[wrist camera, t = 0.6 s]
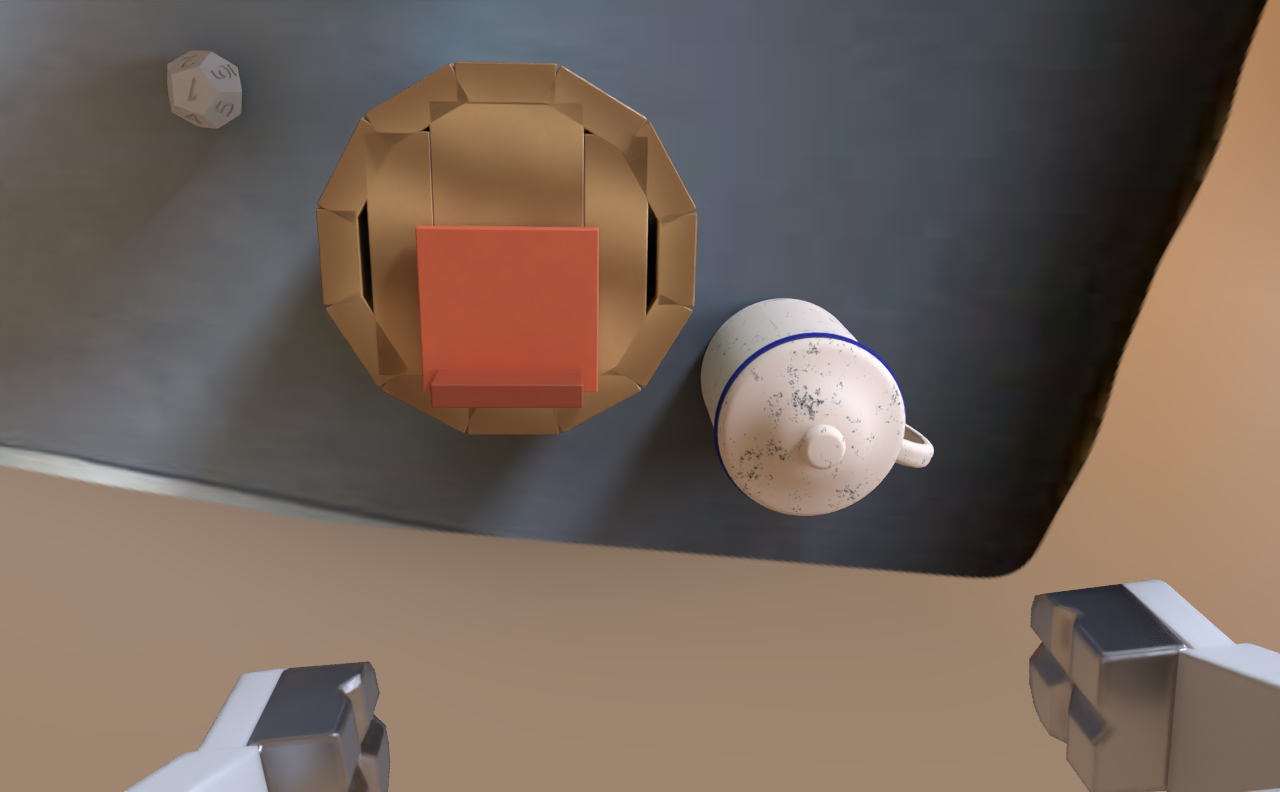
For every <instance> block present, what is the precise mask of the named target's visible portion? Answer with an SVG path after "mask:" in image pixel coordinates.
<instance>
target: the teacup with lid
mask: <svg viewBox="0 0 1280 792" xmlns="http://www.w3.org/2000/svg"><path fill="white" fill-rule="evenodd" d="M701 389H702V394H703V398H704V402H705V405H706V407H707V410H708V413H709V416H710V419H711V422H712V425H713V428H714V440H715V447H716V451H717V455H718V457H719V460H720V463H721V465H722V467H723V469H724V471H725V473H726V474H727V476H728V477H729V479H730V480H731V481H732V482H733V484H734V485H735V486H736V487H737V488H738V489H739V490H740V491H741V492H742V493H743V494H745V495H746V496H747V497H748V498H750V499H751V500H753V501H754V502H756V503H758V504H760V505H762V506H764V507H766V508H769V509H771V510H774V511H777V512H780V513H785V514H790V515H798V516H811V515H820V514H826V513H830V512H834V511H837V510H840V509H842V508H845V507H847V506H849V505H851V504H853V503H855V502H857V501H858V500H860V499H862V498H863V497H864V496H866V495H867V494H869V493H870V492H871V491H872V490H873V489H874V488H875V487H876V486H877V485H878V484H879V483H880V482H881V481H882V480H883V479H884V478H885V476H886V475H887V474H888V472H889V471H890V469H891V468H892V466H893V464H894V463H898V464H901V465H905V466H908V467H914V468H920V467H924V466H926V465H927V464H928V463H929V461H930V459H931V457H932V455H933V453H934V449H933V446H932V445H931V443H930V442H929V441H928V440H927V439H926V438H925V437H924V436H923V435H922V434H920V433H919V432H918V431H916V430H915V429H913V428H912V427H910V426H908V425H907V424H906V412H905V404H904V398H903V395H902V391H901V388H900V386H899V384H898V381H897V379H896V378H895V376H894V374H893V372H892V371H891V370H890V368H889V367H888V365H887V364H886V363H885V362H884V361H883V360H882V359H881V358H880V357H879V356H878V355H877V354H876V353H875V352H873V351H872V350H871V349H869V348H868V347H866V346H864V345H863V344H861V343H859V342H858V341H857V340H856V339H855V338H854V337H853V336H852V335H851V334H850V333H849V332H848V330H847V329H846V328H845V327H844V326H843V325H842V324H841V323H840V322H839V321H838V320H837V319H836V318H835V317H834V316H833V315H831V314H830V313H828V312H827V311H826V310H824V309H822V308H820V307H818V306H816V305H814V304H812V303H809V302H806V301H802V300H797V299H785V298H780V299H771V300H765V301H762V302H758V303H755V304H753V305H750V306H748V307H746V308H744V309H742V310H741V311H739V312H737V313H736V314H735V315H733V316H732V317H731V318H729V319H728V320H727V321H726V322H725V323H724V324H723V325H722V326H721V327H720V328H719V330H718V331H717V332H716V334H715V335H714V336H713V338H712V340H711V341H710V343H709V345H708V347H707V350H706V352H705V355H704V359H703V363H702V369H701Z"/></svg>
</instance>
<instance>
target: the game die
mask: <svg viewBox="0 0 1280 792" xmlns="http://www.w3.org/2000/svg"><path fill="white" fill-rule="evenodd" d="M167 88H168V94H169V100H170V106H171V112H172V113H174V114H175V115H177V116H179V117H181V118H183V119H185V120H186V121H188V122H190V123H192V124H194V125H196V126H197V127H204V128H214V129H218V128H220V127H221V126H223V125H225V124H226V123H228V122H229V121H231V120H233V119H234V118H236V117H237V116H239V115H241V103H242V88H241V83H240V78H239V72H238V67H237V66H235V65H233V64H232V63H230V62H228V61H227V60H225V59H223V58H222V57H220V56H218V55H217V54H215V53H214V52H212V51H200V50H191V51H189V52H187V53H186V54H184V55H182V56H180V57H179V58H177V59H175V60H174V61H172V62H170V63H168V64H167Z"/></svg>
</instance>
